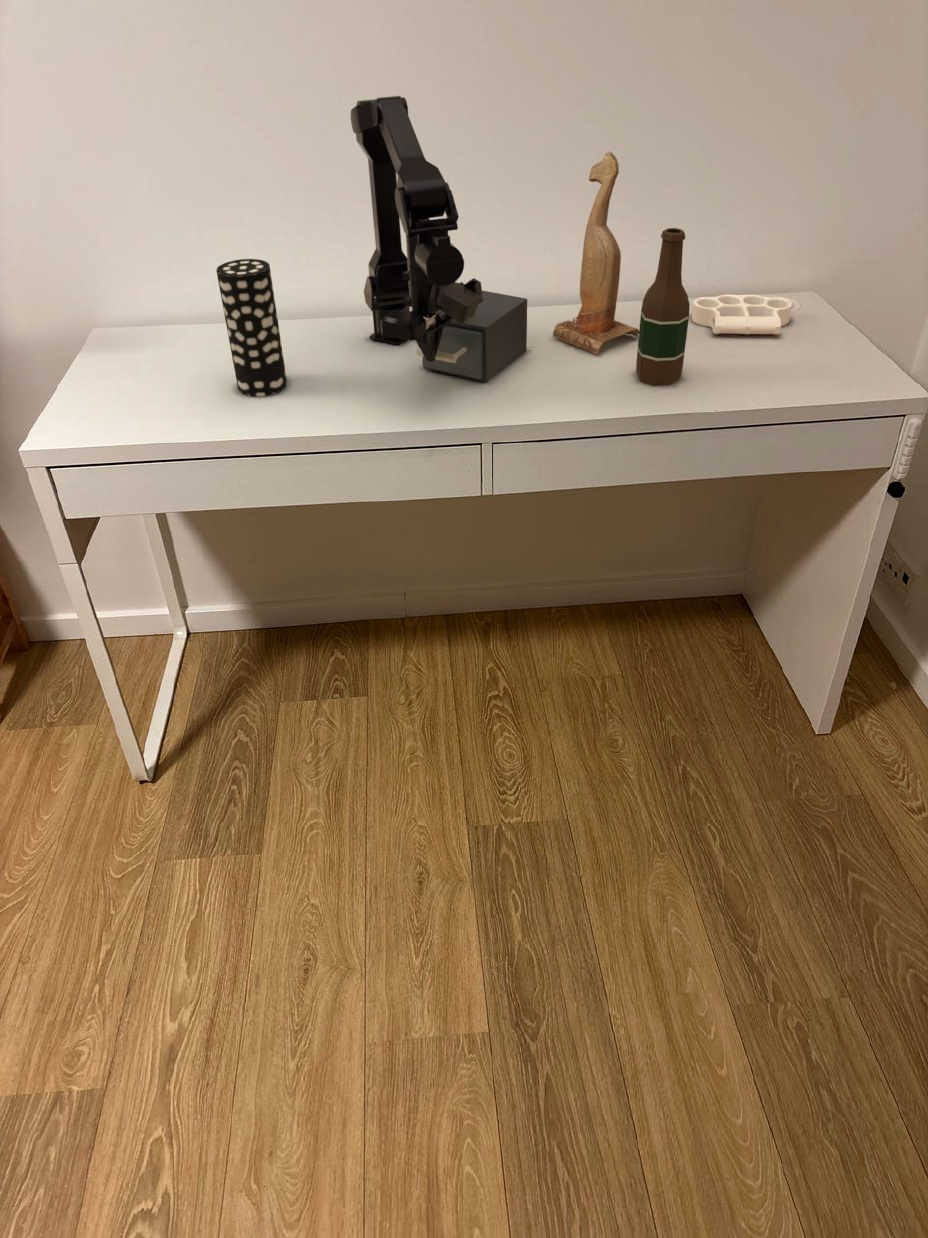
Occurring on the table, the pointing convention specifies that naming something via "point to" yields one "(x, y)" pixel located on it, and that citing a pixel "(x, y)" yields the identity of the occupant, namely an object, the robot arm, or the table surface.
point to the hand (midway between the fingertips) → (430, 360)
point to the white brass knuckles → (742, 314)
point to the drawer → (458, 352)
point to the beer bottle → (664, 317)
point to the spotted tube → (252, 326)
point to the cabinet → (498, 331)
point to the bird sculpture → (598, 272)
